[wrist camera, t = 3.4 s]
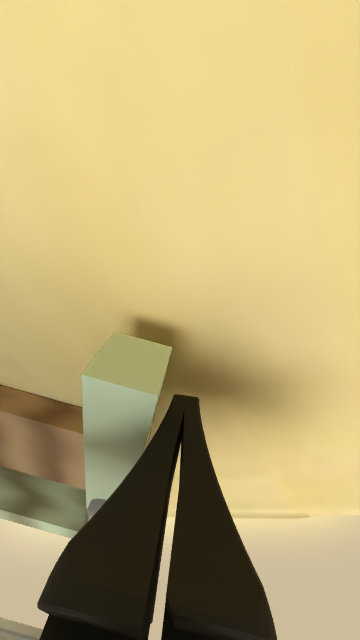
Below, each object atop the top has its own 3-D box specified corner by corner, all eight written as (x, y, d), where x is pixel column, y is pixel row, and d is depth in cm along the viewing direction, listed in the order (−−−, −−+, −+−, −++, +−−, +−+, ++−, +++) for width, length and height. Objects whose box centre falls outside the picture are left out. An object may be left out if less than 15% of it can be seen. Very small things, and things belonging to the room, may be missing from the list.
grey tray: (-6, 452, 25) (-51, 503, 21) (-45, 373, 18) (-127, 426, 13) (134, 491, 25) (118, 551, 20) (151, 427, 18) (131, 498, 13)
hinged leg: (139, 472, 17) (123, 529, 14) (105, 463, 17) (82, 517, 14) (172, 347, 10) (155, 407, 7) (114, 331, 10) (73, 384, 7)
